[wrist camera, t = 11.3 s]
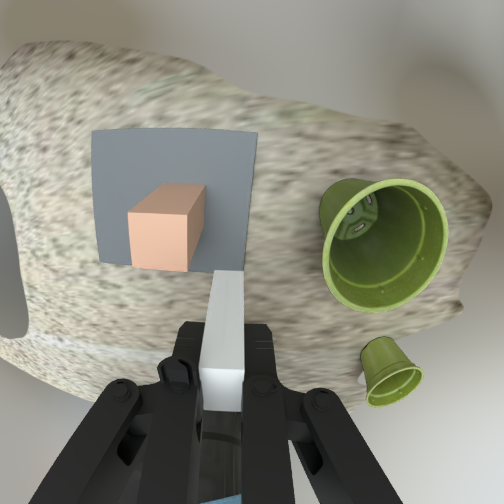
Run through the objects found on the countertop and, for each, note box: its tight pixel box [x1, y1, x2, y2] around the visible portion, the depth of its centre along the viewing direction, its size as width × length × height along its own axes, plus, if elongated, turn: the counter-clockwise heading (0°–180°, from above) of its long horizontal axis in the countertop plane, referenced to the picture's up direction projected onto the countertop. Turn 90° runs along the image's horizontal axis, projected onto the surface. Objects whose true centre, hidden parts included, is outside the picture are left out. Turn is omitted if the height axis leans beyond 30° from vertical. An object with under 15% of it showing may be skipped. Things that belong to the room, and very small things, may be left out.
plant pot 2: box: [361, 337, 424, 407], centre depth 37 cm, size 9×9×9 cm
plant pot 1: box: [319, 178, 448, 313], centre depth 25 cm, size 12×12×11 cm
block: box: [128, 183, 205, 272], centre depth 24 cm, size 4×4×10 cm
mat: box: [91, 128, 257, 273], centre depth 29 cm, size 16×18×1 cm
